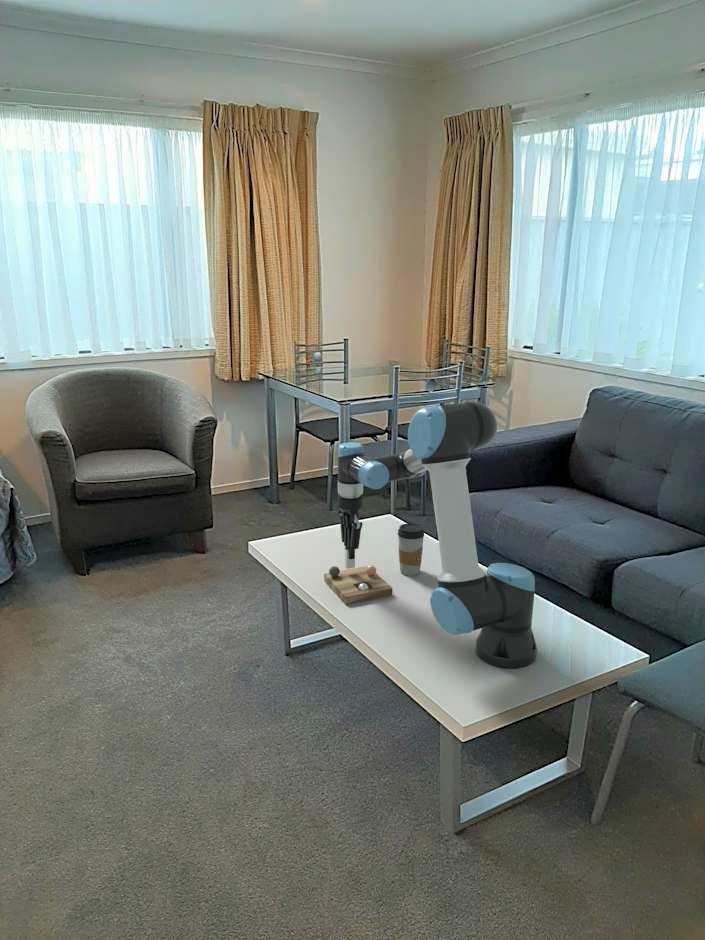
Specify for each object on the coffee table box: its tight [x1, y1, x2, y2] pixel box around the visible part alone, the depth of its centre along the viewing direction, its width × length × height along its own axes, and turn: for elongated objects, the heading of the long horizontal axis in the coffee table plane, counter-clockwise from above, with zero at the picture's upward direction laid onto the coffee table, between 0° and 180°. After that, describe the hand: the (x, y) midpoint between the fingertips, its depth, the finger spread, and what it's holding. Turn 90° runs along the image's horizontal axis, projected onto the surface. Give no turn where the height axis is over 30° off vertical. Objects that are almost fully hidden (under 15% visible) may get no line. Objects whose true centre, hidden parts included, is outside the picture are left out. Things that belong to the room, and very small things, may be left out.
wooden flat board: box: [323, 565, 393, 605], centre depth 224 cm, size 17×15×2 cm
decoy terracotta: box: [366, 564, 377, 576], centre depth 227 cm, size 3×3×3 cm
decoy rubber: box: [328, 565, 341, 577], centre depth 226 cm, size 3×3×3 cm
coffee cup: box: [397, 522, 425, 577], centre depth 234 cm, size 8×8×15 cm
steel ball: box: [358, 583, 369, 590], centre depth 220 cm, size 3×3×3 cm
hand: (349, 567), depth 228 cm, fingers closed
